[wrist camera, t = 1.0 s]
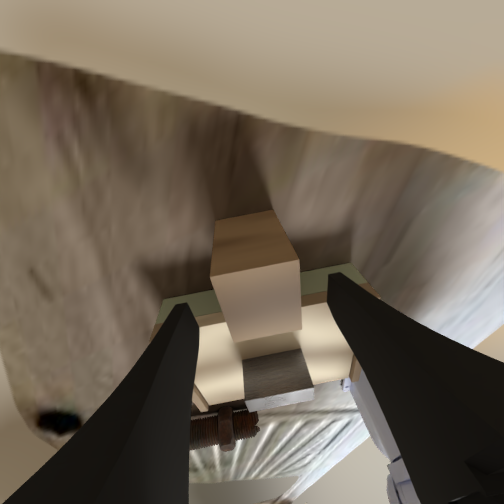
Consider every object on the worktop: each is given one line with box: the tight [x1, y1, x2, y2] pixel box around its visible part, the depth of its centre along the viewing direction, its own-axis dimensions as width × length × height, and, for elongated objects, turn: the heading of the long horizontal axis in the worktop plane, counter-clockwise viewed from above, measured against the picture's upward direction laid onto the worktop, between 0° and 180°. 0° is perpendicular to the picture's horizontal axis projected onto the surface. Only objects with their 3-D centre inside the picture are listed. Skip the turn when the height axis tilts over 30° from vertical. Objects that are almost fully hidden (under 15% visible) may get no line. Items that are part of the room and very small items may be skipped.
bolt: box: [189, 406, 260, 452], centre depth 28 cm, size 6×5×15 cm
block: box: [210, 210, 302, 343], centre depth 13 cm, size 5×4×6 cm
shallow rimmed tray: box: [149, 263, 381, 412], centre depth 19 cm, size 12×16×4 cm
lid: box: [194, 291, 353, 412], centre depth 17 cm, size 12×14×4 cm
